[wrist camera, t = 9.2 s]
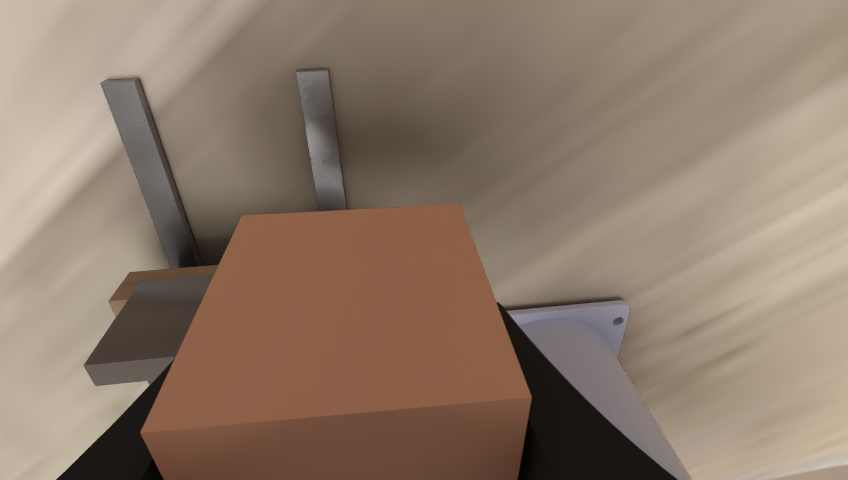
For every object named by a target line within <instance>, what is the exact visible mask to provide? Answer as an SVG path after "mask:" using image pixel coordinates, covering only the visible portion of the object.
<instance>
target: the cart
mask: <svg viewBox="0 0 848 480" xmlns="http://www.w3.org/2000/svg"><path fill="white" fill-rule="evenodd" d="M217 268H218V265H211V266H199V267H187V268H175V269H163V270H151V271H139V272H129V274H128V275H127V277H126V278H125V279H124V281H123V282H122V283H121V285H120V286H119V288H118V289H117V290H116V292H115V293H114V294H113V296H112V297H111V299H110V300H109V301H108V302H109V304H110V306H111V308H112V310H113V312H114V314H115V316H116V318H115V320H114V321H113V323H112V324H111V326H110V327H109V329H108V330H107V332H106V333H105V335H104V336H103V338H102V339H101V340H100V342H99V343H98V345H97V346H96V348H95V349H94V351H93V352H92V354H91V355H90V357H89V358H88V360H87V361H86V363H85V364H84V367H85V369H86V371H87V372H88V374H89V376H90V377H91V379H92V381H93V383H94V384H95V386H100V385H110V384H120V383H130V382H140V381H148V383H149V385H151V383H152V382H153V381H154V380H155V379H156V378H157V377H158V376H159V375H160V374H161V373H162V371H163V370H164V369H165V368H166V367H167V366H168V365H169V364H170V363H171V362H172V360H173V359H174V358H175V357H176V355H177V353H178V351H179V349H180V347H181V345H182V342H183V340H184V338H185V336H186V334H187V332H188V330H189V327H190V325H191V323H192V321H193V319H194V317H195V315H196V312H197V310H198V308H199V306H200V304H201V302H202V300H203V297H204V295H205V293H206V291H207V289H208V287H209V285H210V283H211V280H212V278H213V276H214V274H215V272H216V270H217Z"/></svg>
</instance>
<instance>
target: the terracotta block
mask: <svg viewBox="0 0 848 480" xmlns="http://www.w3.org/2000/svg"><path fill="white" fill-rule="evenodd" d="M531 399H532V396H531V394H530V391H529V388H528V386H527V383H526V380H525V378H524V375H523V372H522V370H521V367H520V364H519V362H518V359H517V356H516V354H515V351H514V348H513V346H512V343H511V340H510V338H509V335H508V332H507V330H506V327H505V324H504V322H503V319H502V316H501V314H500V311H499V308H498V306H497V303H496V300H495V298H494V295H493V292H492V290H491V287H490V284H489V282H488V279H487V276H486V274H485V271H484V268H483V266H482V263H481V260H480V258H479V255H478V252H477V250H476V247H475V244H474V242H473V239H472V236H471V234H470V231H469V228H468V226H467V223H466V220H465V218H464V215H463V212H462V210H461V207H460V204H449V205H430V206H411V207H392V208H373V209H354V210H335V211H316V212H297V213H278V214H259V215H242V216H241V218H240V221H239V223H238V225H237V227H236V229H235V231H234V233H233V235H232V238H231V240H230V242H229V244H228V246H227V248H226V250H225V253H224V255H223V257H222V259H221V261H220V263H219V265H218V268H217V270H216V272H215V274H214V276H213V278H212V280H211V283H210V285H209V287H208V289H207V291H206V293H205V295H204V297H203V300H202V302H201V304H200V306H199V308H198V310H197V312H196V315H195V317H194V319H193V321H192V323H191V325H190V327H189V330H188V332H187V334H186V336H185V338H184V340H183V342H182V345H181V347H180V349H179V351H178V353H177V355H176V357H175V359H174V362H173V364H172V366H171V368H170V370H169V372H168V374H167V377H166V379H165V381H164V383H163V385H162V387H161V389H160V392H159V394H158V396H157V398H156V400H155V402H154V404H153V406H152V409H151V411H150V413H149V415H148V417H147V419H146V421H145V424H144V426H143V428H142V430H141V432H140V434H141V436H142V438H143V440H144V442H145V444H146V445H147V447H148V449H149V451H150V453H151V455H152V457H153V459H154V461H155V463H156V465H157V467H158V469H159V471H160V473H161V475H162V477H163V479H164V480H518V474H519V469H520V463H521V457H522V451H523V445H524V440H525V434H526V428H527V422H528V416H529V411H530V405H531Z"/></svg>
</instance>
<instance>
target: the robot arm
mask: <svg viewBox="0 0 848 480" xmlns="http://www.w3.org/2000/svg"><path fill="white" fill-rule="evenodd" d="M496 303H497V306H498V308H499V311H500V314H501V316H502V319H503V322H504V324H505V327H506V330H507V332H508V335H509V338H510V340H511V343H512V346H513V348H514V351H515V354H516V356H517V359H518V362H519V364H520V367H521V370H522V372H523V375H524V378H525V380H526V383H527V386H528V388H529V391H530V394H531V396H532V399H531V405H530V411H529V416H528V422H527V428H526V434H525V440H524V445H523V451H522V457H521V463H520V469H519V474H518V480H692V479H691V477H690V475H689V474H688V472H687V471H686V469H685V467H684V466H683V464H682V463H681V461H680V459H679V458H678V456H677V455H676V453H675V451H674V450H673V448H672V447H671V445H670V443H669V442H668V440H667V438H666V437H665V435H664V434H663V432H662V430H661V429H660V427H659V426H658V424H657V422H656V421H655V419H654V418H653V416H652V414H651V413H650V411H649V409H648V408H647V406H646V405H645V403H644V401H643V400H642V398H641V397H640V395H639V393H638V392H637V390H636V389H635V387H634V385H633V384H632V382H631V381H630V379H629V377H628V376H627V374H626V372H625V371H624V369H623V368H622V366H621V364H620V363H619V361H618V360H617V359H618V355H619V351H620V347H621V344H622V340H623V336H624V332H625V328H626V325H627V321H628V317H629V313H630V308H629V306H628V305H627V303H626V302H625V301H623V300H616V301H605V302H595V303H584V304H574V305H564V306H553V307H543V308H532V309H522V310H511V311H506V310H505V308H504V307H503V306H502V305H501V304H500V303H498V302H496ZM616 318H617V319H616ZM614 319H615V320H614ZM174 359H175V358H174ZM174 359H173V360H172V362H171V363H170V364H169V365H168V366H167V367H166V368H165V369H164V370H163V371H162V373H161V374H160V375H159V376H158V377H157V378H156V379H155V380H154V381H153V382H152V383H151V385H150V386H149V387H148V388H147V389H146V390H145V391H144V392H143V393H142V394H141V395H140V396H139V397H138V398H137V399H136V400H135V401H134V403H133V404H132V405H131V406H130V407H129V408H128V409H127V410H126V411H125V412H124V413H123V414H122V415H121V416H120V417H119V418H118V419H117V420H116V422H115V423H114V424H113V425H112V426H111V427H110V428H109V429H108V430H107V431H106V432H105V433H104V434H102V435H101V436H100V437H99V438H98V439H97V440H96V441H95V442H94V443H93V444H92V445H91V446H90V447H89V448H88V449H87V450H86V451H85V452H84V453H83V454H82V455H81V456H80V457H79V458H78V459H77V460H76V461H75V462H74V463H73V464H72V465H71V466H70V467H69V468H68V469H67V470H66V471H65V472H64V473H63V474H62V475H61V476H59V477H58V478H57V479H56V480H164V479H163V477H162V475H161V473H160V471H159V469H158V467H157V465H156V463H155V461H154V459H153V457H152V455H151V453H150V451H149V449H148V447H147V445H146V444H145V442H144V440H143V438H142V436H141V434H140V432H141V430H142V428H143V426H144V424H145V421H146V419H147V417H148V415H149V413H150V411H151V409H152V406H153V404H154V402H155V400H156V398H157V396H158V394H159V392H160V389H161V387H162V385H163V383H164V381H165V379H166V377H167V374H168V372H169V370H170V368H171V366H172V364H173V362H174Z"/></svg>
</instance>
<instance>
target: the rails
mask: <svg viewBox="0 0 848 480" xmlns="http://www.w3.org/2000/svg"><path fill="white" fill-rule="evenodd" d="M296 75H297V81H298V87H299V93H300V99H301V105H302V111H303V117H304V123H305V129H306V135H307V141H308V147H309V153H310V159H311V165H312V171H313V177H314V183H315V189H316V195H317V201H318V207H319V211H335V210H347V206H346V199H345V191H344V183H343V176H342V168H341V161H340V153H339V145H338V138H337V130H336V123H335V115H334V107H333V100H332V92H331V85H330V77H329V69H328V68H322V69H303V70H297V72H296ZM100 84H101V86H102V89H103V92H104V94H105V97H106V99H107V102H108V105H109V107H110V110H111V112H112V115H113V118H114V120H115V123H116V125H117V128H118V131H119V133H120V136H121V139H122V141H123V144H124V146H125V149H126V152H127V154H128V157H129V159H130V162H131V165H132V167H133V170H134V172H135V175H136V178H137V180H138V183H139V185H140V188H141V191H142V193H143V196H144V198H145V201H146V204H147V206H148V209H149V211H150V214H151V217H152V219H153V222H154V225H155V227H156V230H157V232H158V235H159V238H160V240H161V243H162V245H163V248H164V251H165V253H166V256H167V258H168V261H169V264H170V266H171V269H175V268H187V267H199V266H202V263H201V260H200V257H199V254H198V251H197V248H196V245H195V242H194V239H193V236H192V233H191V230H190V227H189V224H188V221H187V218H186V216H185V213H184V210H183V207H182V204H181V201H180V198H179V195H178V192H177V189H176V186H175V183H174V180H173V177H172V174H171V171H170V168H169V165H168V163H167V160H166V157H165V154H164V151H163V148H162V145H161V142H160V139H159V136H158V133H157V130H156V127H155V124H154V121H153V118H152V115H151V112H150V109H149V107H148V104H147V101H146V98H145V95H144V92H143V89H142V86H141V83H140V80H139V78H135V79H117V80H105V81H103V82H101V83H100Z"/></svg>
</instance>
